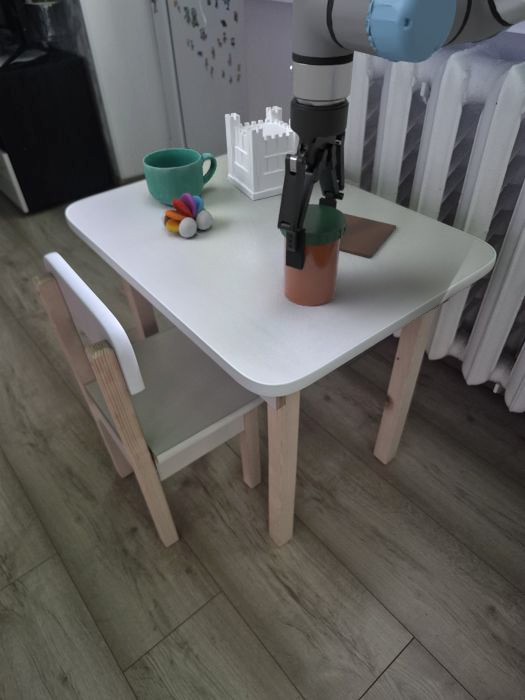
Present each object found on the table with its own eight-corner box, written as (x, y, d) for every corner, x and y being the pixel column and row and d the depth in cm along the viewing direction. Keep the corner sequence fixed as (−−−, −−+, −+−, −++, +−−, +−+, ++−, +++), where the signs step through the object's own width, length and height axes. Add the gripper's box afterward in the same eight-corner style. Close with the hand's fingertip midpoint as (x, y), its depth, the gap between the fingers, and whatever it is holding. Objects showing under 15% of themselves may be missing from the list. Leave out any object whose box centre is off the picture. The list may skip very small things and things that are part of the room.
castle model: (253, 200, 109) (251, 131, 99) (227, 179, 118) (222, 114, 108) (306, 187, 114) (309, 120, 104) (277, 168, 123) (277, 105, 113)
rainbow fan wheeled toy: (156, 230, 98) (150, 196, 94) (193, 214, 104) (189, 181, 99) (183, 244, 94) (178, 209, 89) (219, 226, 99) (216, 193, 94)
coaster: (395, 228, 97) (396, 225, 97) (370, 258, 88) (370, 255, 88) (332, 213, 103) (333, 210, 103) (302, 240, 94) (303, 238, 94)
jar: (343, 285, 82) (351, 216, 74) (321, 312, 76) (326, 240, 68) (298, 272, 85) (300, 204, 77) (273, 296, 80) (273, 226, 72)
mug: (158, 215, 104) (150, 172, 97) (143, 194, 112) (136, 153, 106) (229, 201, 109) (226, 158, 102) (210, 182, 117) (206, 141, 111)
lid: (299, 210, 79) (299, 199, 77) (355, 223, 75) (357, 212, 73) (268, 235, 72) (267, 223, 71) (327, 251, 68) (328, 239, 67)
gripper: (331, 76, 70) (320, 218, 85) (247, 116, 56) (252, 278, 70) (379, 82, 67) (360, 228, 82) (305, 125, 53) (297, 293, 67)
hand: (310, 251), depth 76 cm, fingers closed on lid, 10 cm apart
